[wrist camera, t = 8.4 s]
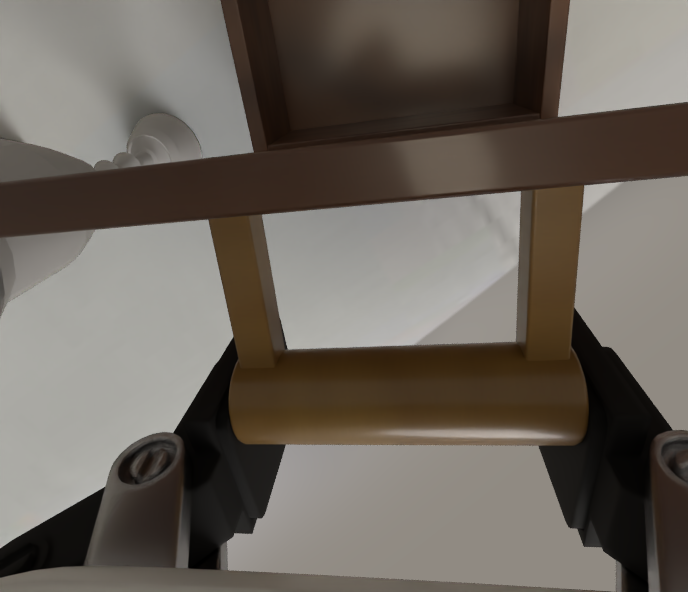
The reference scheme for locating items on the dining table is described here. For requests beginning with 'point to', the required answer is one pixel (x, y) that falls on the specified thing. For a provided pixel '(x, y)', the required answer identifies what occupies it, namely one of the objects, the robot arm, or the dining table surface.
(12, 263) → the chalice
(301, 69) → the box
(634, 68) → the dining table surface
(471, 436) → the box lid
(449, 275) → the dining table surface
